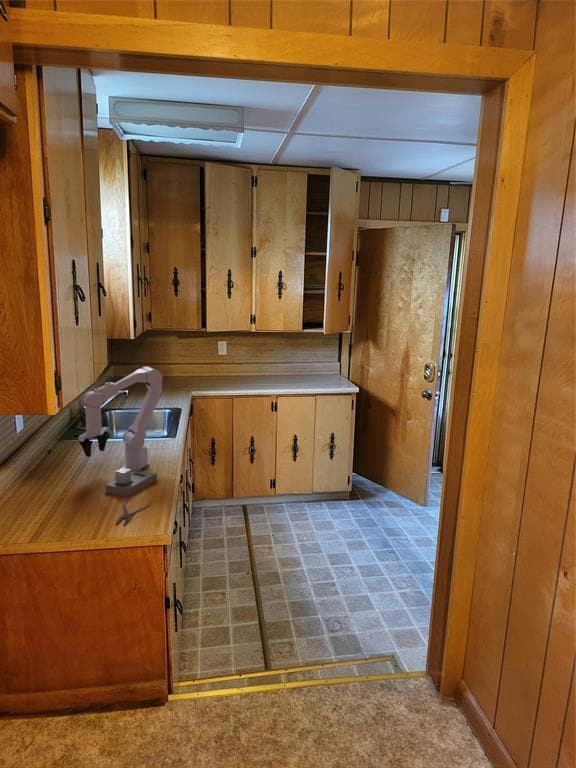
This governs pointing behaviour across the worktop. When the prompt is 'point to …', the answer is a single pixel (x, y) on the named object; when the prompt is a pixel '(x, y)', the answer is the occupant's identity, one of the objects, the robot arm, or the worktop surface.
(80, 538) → the worktop surface
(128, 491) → the socket plate
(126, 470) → the peg
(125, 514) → the pliers
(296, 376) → the worktop surface
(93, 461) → the worktop surface
